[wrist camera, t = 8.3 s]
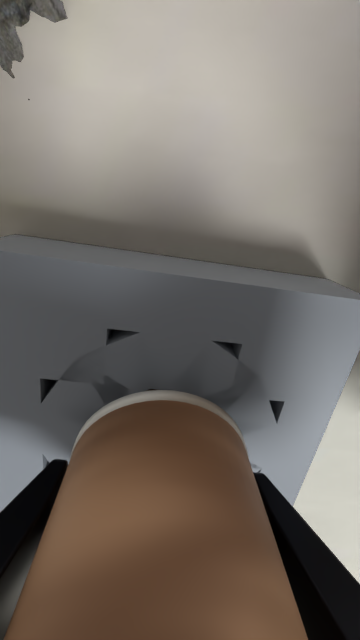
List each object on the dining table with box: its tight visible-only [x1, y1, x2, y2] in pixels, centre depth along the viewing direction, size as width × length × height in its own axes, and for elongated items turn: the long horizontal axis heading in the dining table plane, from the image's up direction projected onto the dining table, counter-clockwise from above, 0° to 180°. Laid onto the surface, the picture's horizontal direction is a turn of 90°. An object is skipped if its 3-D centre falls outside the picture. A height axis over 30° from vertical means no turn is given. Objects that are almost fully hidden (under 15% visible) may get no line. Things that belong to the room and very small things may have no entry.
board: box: [0, 234, 360, 512], centre depth 12 cm, size 12×12×3 cm
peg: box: [3, 389, 308, 640], centre depth 7 cm, size 6×6×10 cm
